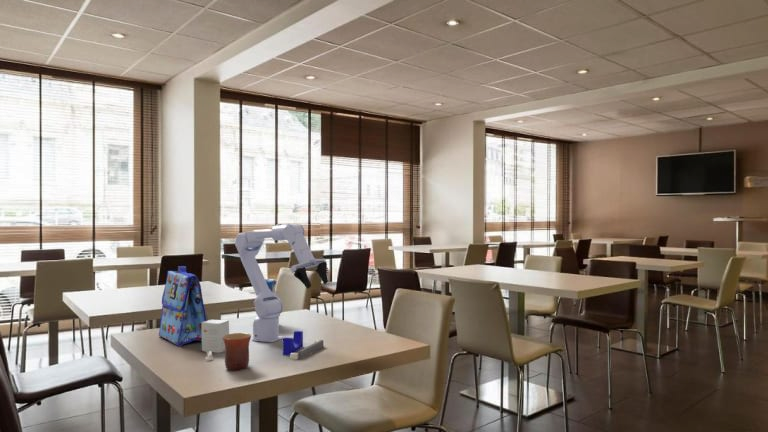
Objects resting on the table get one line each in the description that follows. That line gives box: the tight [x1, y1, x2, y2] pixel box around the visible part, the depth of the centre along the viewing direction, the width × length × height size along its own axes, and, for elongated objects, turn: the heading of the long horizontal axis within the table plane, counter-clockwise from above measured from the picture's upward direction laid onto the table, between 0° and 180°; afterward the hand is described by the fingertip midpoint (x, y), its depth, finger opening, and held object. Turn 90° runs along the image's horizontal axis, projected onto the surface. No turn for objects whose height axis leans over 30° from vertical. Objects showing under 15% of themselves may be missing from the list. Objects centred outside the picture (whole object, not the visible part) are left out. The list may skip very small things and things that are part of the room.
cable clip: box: [282, 330, 304, 356], centre depth 186 cm, size 12×4×6 cm, turn 169°
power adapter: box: [204, 351, 214, 362], centre depth 175 cm, size 3×3×3 cm
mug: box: [223, 332, 252, 372], centre depth 166 cm, size 12×9×10 cm
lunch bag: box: [158, 265, 208, 347], centre depth 205 cm, size 22×14×29 cm, turn 41°
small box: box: [201, 319, 230, 354], centre depth 187 cm, size 8×6×10 cm
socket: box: [289, 339, 325, 361], centre depth 184 cm, size 4×19×2 cm, turn 161°
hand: (317, 285), depth 188 cm, fingers open, 7 cm apart
